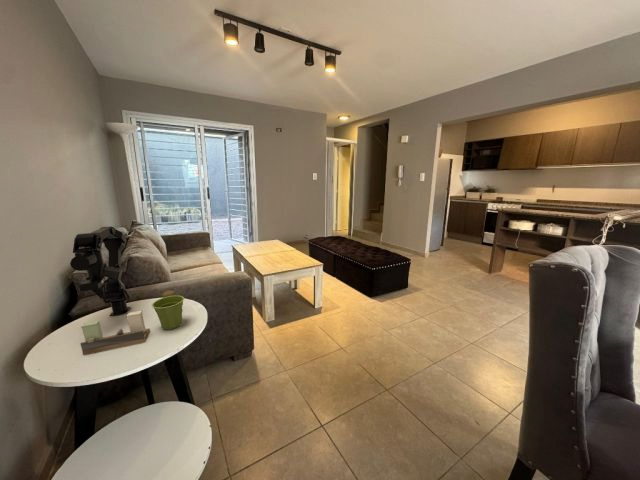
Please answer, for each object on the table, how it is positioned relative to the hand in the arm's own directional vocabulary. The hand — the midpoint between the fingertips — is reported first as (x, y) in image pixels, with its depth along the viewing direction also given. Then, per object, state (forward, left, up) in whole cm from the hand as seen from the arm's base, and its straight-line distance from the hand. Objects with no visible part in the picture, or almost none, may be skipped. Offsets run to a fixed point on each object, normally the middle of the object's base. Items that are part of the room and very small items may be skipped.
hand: (102, 298), depth 107 cm
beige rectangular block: (+15, +15, -11) cm, 24 cm away
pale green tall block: (+18, +2, -11) cm, 21 cm away
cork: (-1, +24, -13) cm, 27 cm away
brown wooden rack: (+17, +9, -13) cm, 23 cm away
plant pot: (+11, +26, -13) cm, 31 cm away
